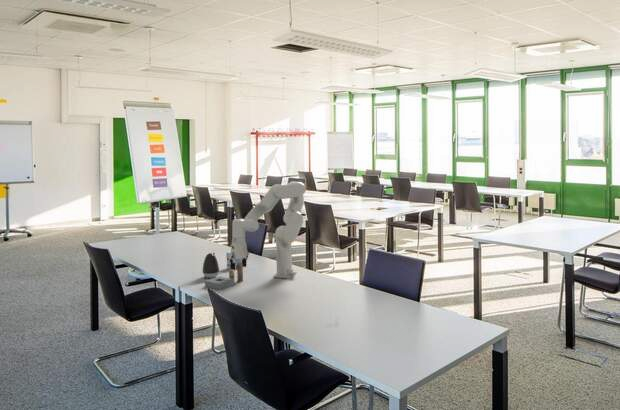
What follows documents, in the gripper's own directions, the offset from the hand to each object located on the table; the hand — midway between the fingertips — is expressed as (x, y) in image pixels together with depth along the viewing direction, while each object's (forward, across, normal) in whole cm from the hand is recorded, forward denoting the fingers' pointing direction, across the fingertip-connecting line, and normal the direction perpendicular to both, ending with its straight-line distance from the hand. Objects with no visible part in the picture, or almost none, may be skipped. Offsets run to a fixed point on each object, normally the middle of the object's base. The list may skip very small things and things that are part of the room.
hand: (238, 267), depth 295 cm
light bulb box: (+8, +25, +26) cm, 37 cm away
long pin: (+8, +1, -1) cm, 8 cm away
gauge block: (+9, -13, +2) cm, 16 cm away
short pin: (+8, +3, +8) cm, 12 cm away
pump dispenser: (+9, -2, +21) cm, 23 cm away
